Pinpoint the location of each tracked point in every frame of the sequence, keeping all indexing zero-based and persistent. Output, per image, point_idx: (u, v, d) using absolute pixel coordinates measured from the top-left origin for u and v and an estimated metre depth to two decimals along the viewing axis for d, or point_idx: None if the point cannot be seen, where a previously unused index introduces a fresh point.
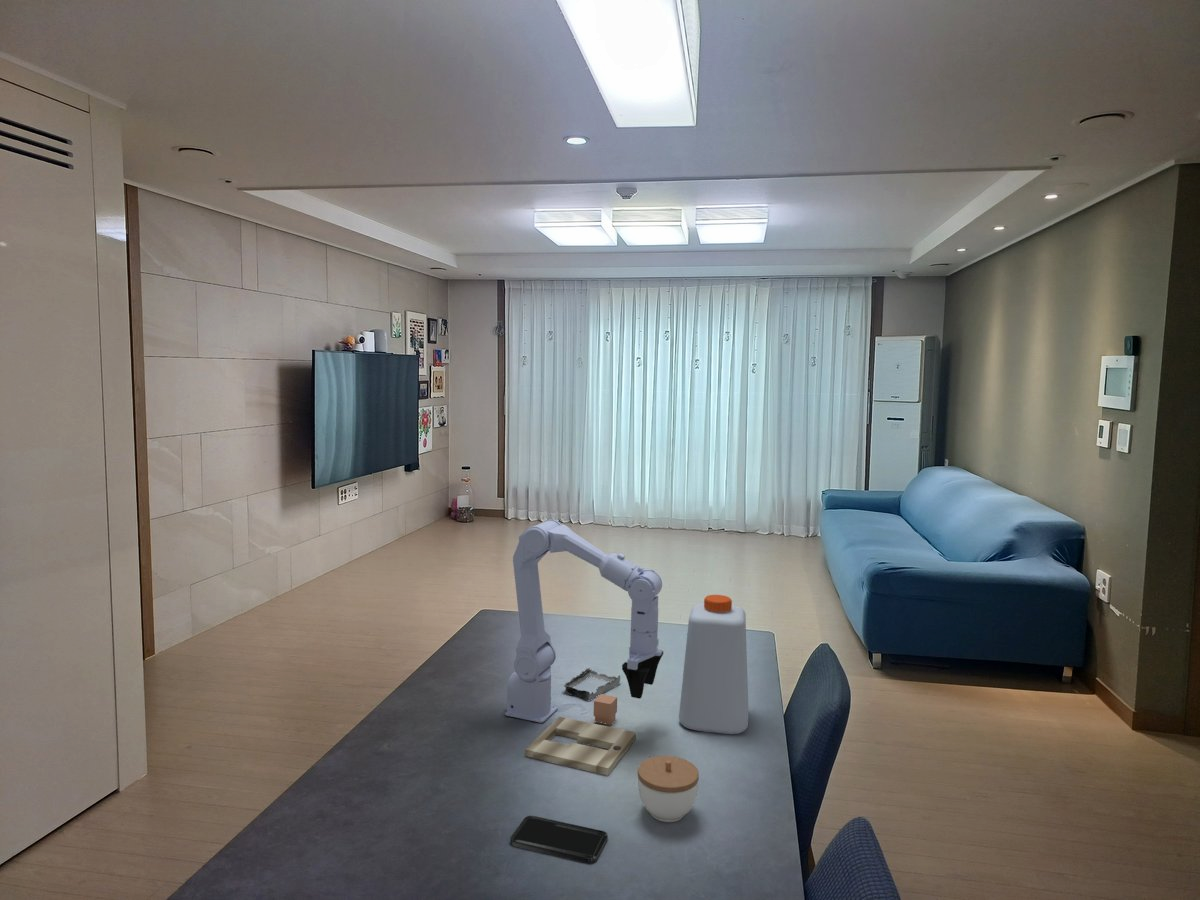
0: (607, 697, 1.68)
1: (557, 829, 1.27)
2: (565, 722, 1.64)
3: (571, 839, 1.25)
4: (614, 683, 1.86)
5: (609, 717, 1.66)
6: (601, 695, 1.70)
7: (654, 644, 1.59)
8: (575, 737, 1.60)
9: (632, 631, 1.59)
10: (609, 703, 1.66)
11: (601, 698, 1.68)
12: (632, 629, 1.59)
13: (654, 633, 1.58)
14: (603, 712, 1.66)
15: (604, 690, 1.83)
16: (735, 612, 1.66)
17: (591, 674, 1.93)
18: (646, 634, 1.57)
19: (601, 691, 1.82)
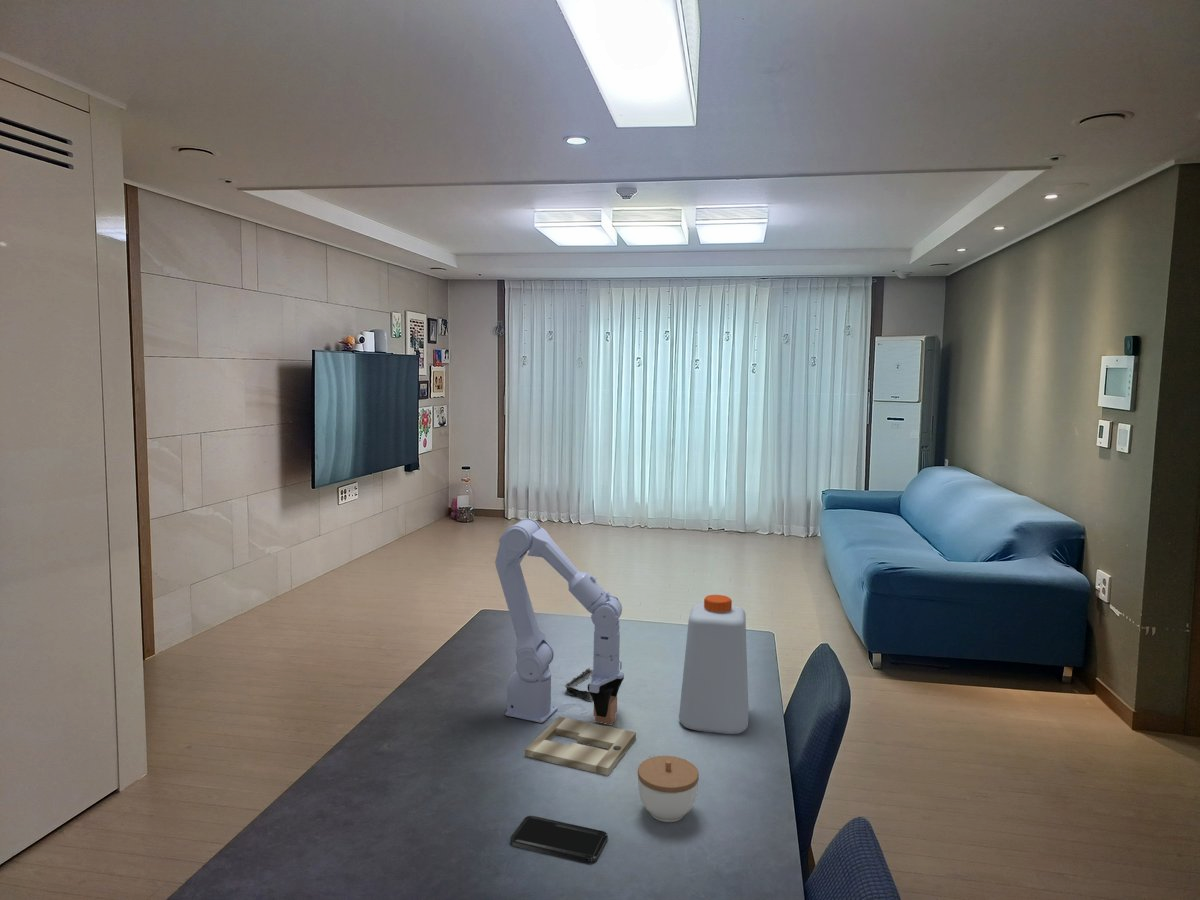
0: None
1: (557, 829, 1.27)
2: (565, 722, 1.64)
3: (571, 839, 1.25)
4: None
5: (609, 717, 1.66)
6: None
7: (616, 668, 1.65)
8: (575, 737, 1.60)
9: (594, 655, 1.65)
10: (609, 703, 1.66)
11: None
12: (594, 653, 1.65)
13: (615, 657, 1.65)
14: None
15: None
16: (735, 612, 1.66)
17: (591, 674, 1.93)
18: (608, 658, 1.64)
19: None
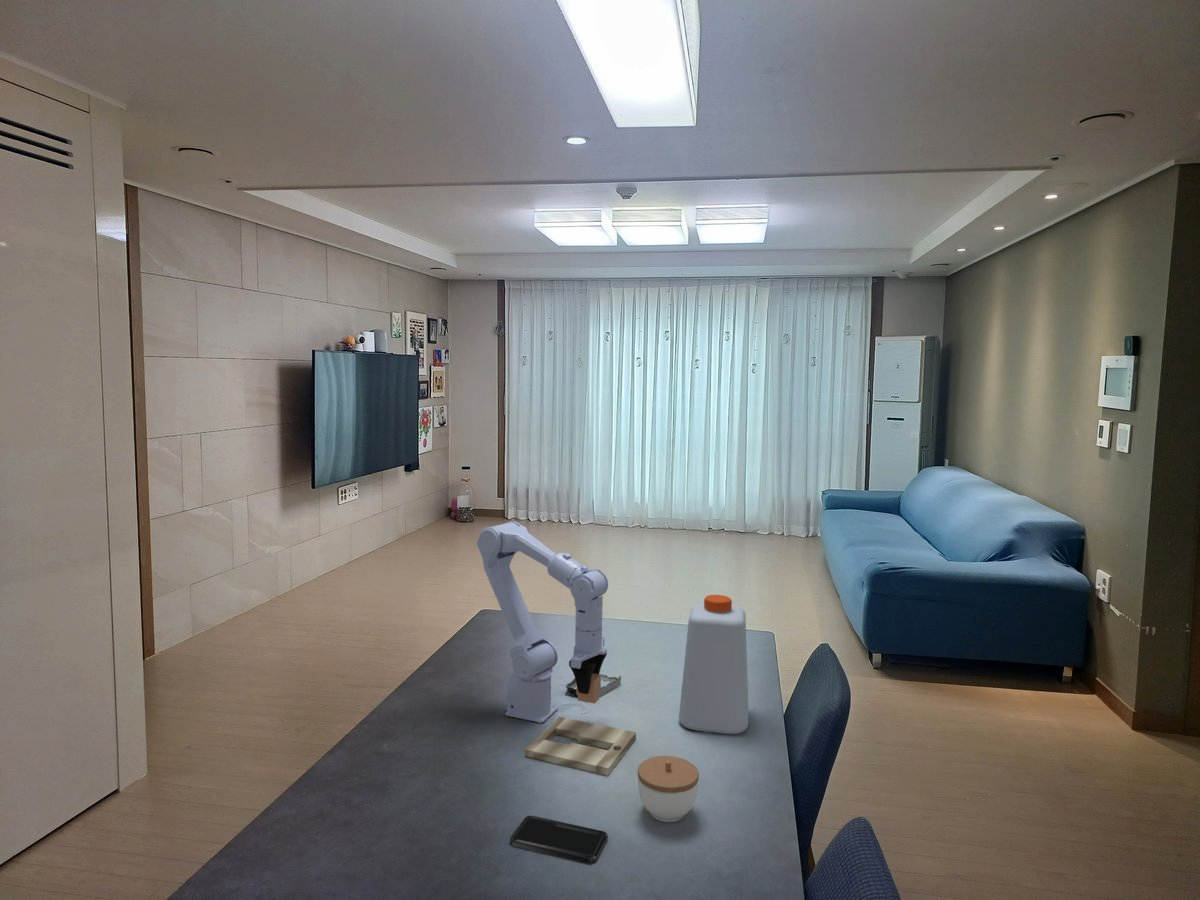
0: None
1: (557, 829, 1.27)
2: (565, 722, 1.64)
3: (571, 839, 1.25)
4: (615, 683, 1.86)
5: (592, 695, 1.60)
6: None
7: (598, 643, 1.60)
8: (575, 737, 1.60)
9: (576, 630, 1.60)
10: (592, 680, 1.60)
11: None
12: (576, 628, 1.60)
13: (598, 632, 1.60)
14: None
15: (605, 691, 1.83)
16: (735, 612, 1.66)
17: None
18: (590, 633, 1.59)
19: (603, 692, 1.82)
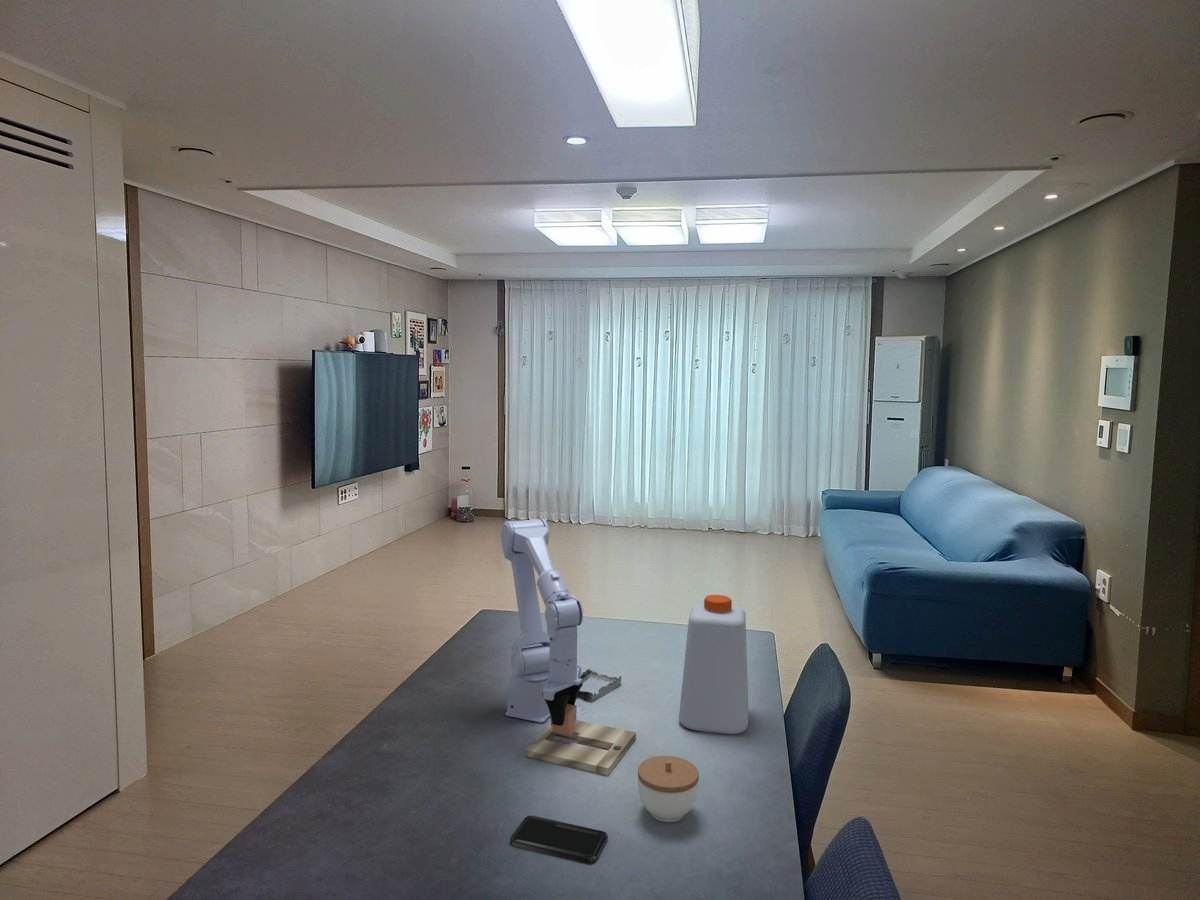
0: (566, 706, 1.58)
1: (557, 829, 1.27)
2: None
3: (571, 839, 1.25)
4: (615, 683, 1.86)
5: (567, 727, 1.55)
6: None
7: (573, 673, 1.55)
8: (575, 737, 1.60)
9: (550, 660, 1.55)
10: (567, 712, 1.55)
11: None
12: (550, 657, 1.55)
13: (572, 662, 1.54)
14: None
15: (606, 691, 1.83)
16: (735, 612, 1.66)
17: (591, 675, 1.93)
18: (564, 663, 1.53)
19: (603, 692, 1.82)
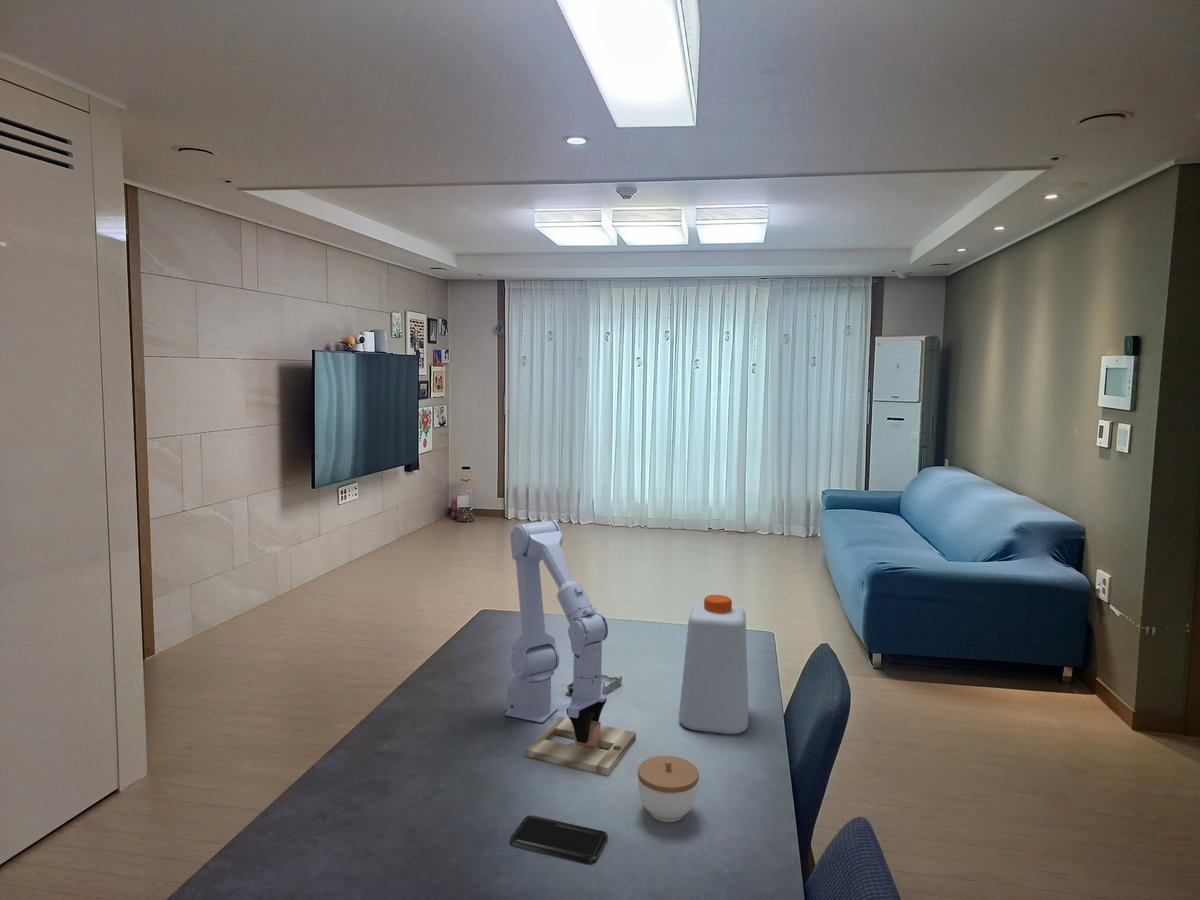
0: None
1: (557, 829, 1.27)
2: (565, 722, 1.64)
3: (571, 839, 1.25)
4: (616, 683, 1.86)
5: (591, 744, 1.53)
6: None
7: (597, 690, 1.53)
8: None
9: (574, 676, 1.53)
10: (591, 729, 1.53)
11: None
12: (574, 674, 1.53)
13: (597, 678, 1.52)
14: None
15: (607, 691, 1.83)
16: (735, 612, 1.66)
17: None
18: (588, 679, 1.52)
19: (604, 692, 1.82)
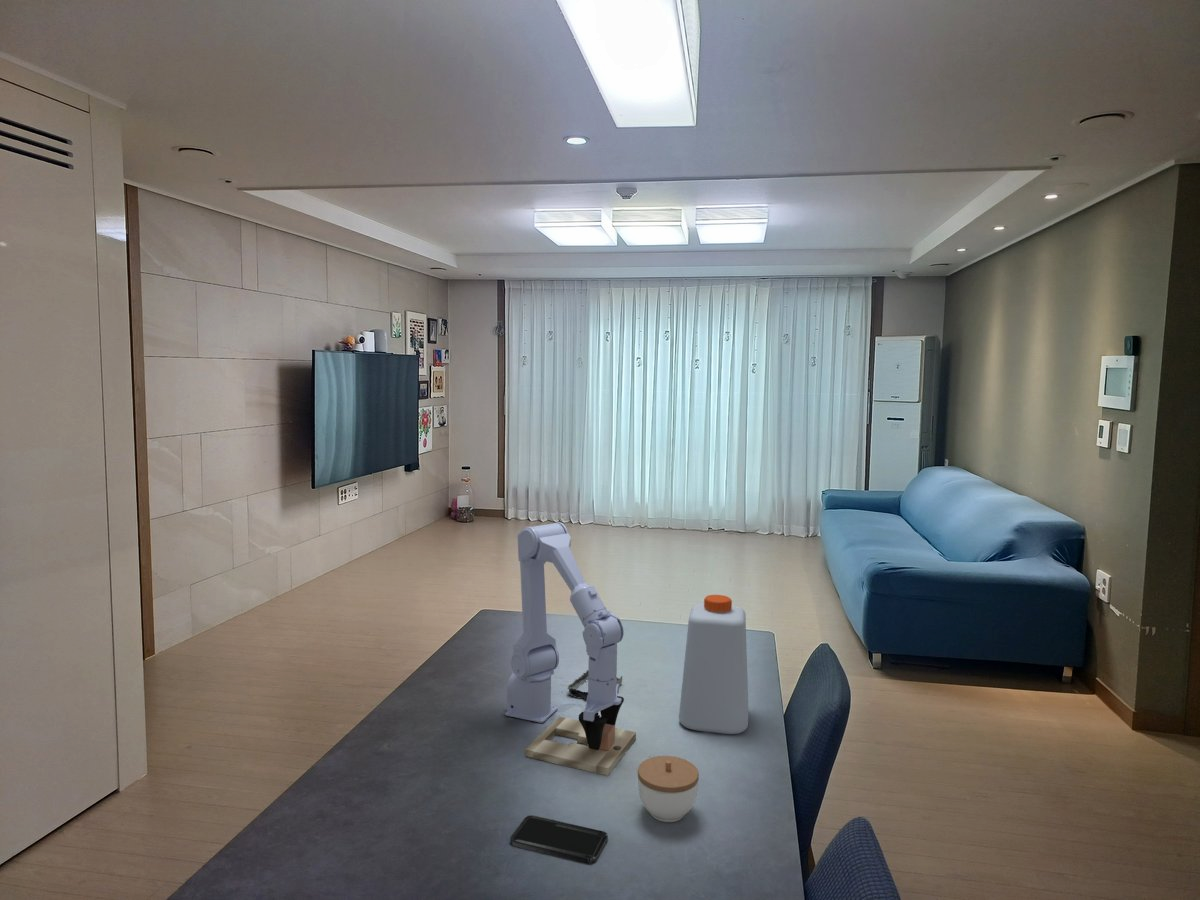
0: (605, 726, 1.55)
1: (557, 829, 1.27)
2: (565, 722, 1.64)
3: (571, 839, 1.25)
4: None
5: (606, 748, 1.52)
6: None
7: (613, 693, 1.52)
8: (575, 737, 1.60)
9: (589, 679, 1.52)
10: (606, 733, 1.52)
11: None
12: (589, 677, 1.52)
13: (612, 681, 1.51)
14: None
15: None
16: (735, 612, 1.66)
17: None
18: (604, 682, 1.50)
19: None
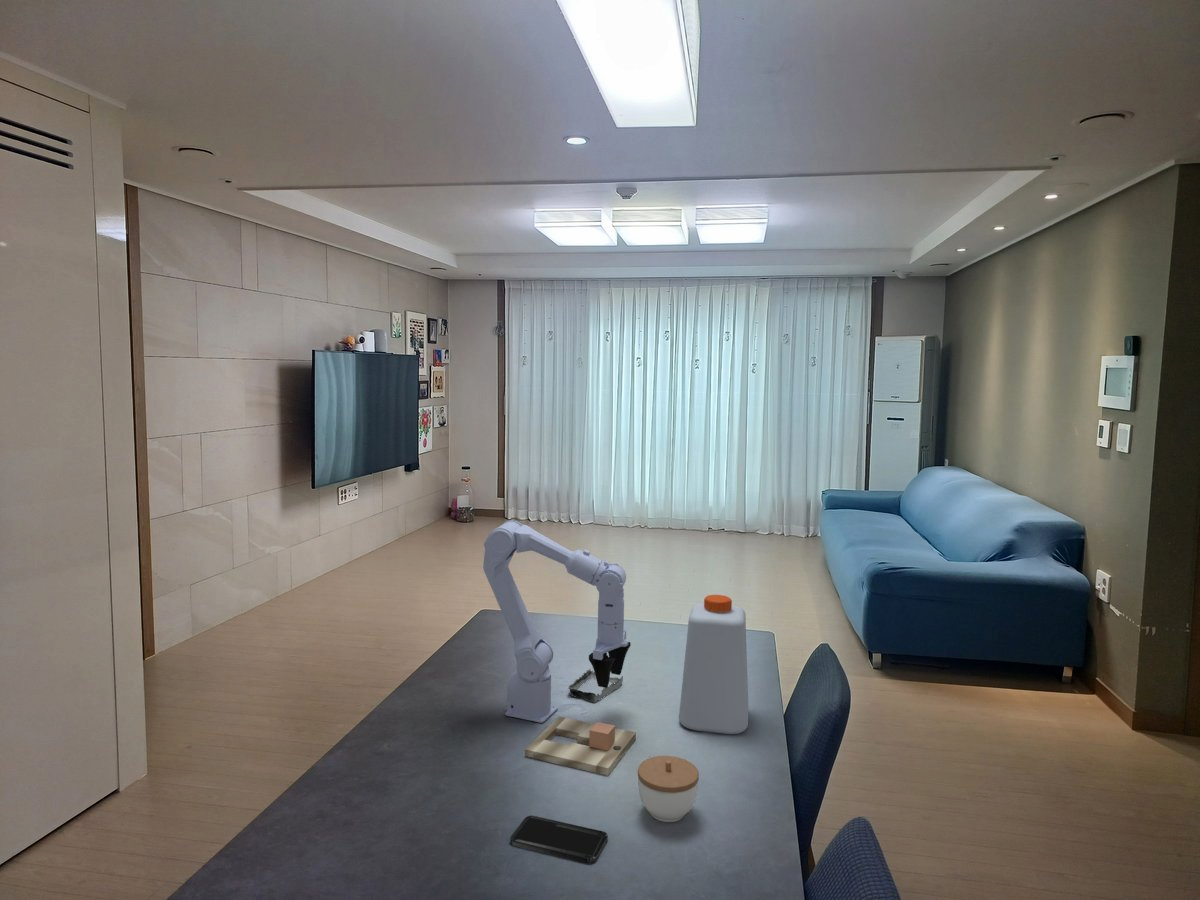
0: (605, 726, 1.55)
1: (557, 829, 1.27)
2: (565, 722, 1.64)
3: (571, 839, 1.25)
4: (617, 684, 1.86)
5: (606, 748, 1.52)
6: (598, 723, 1.56)
7: (620, 636, 1.65)
8: (575, 737, 1.60)
9: (599, 623, 1.65)
10: (606, 733, 1.52)
11: (598, 727, 1.54)
12: (599, 621, 1.65)
13: (620, 625, 1.64)
14: (600, 743, 1.52)
15: (608, 691, 1.83)
16: (735, 612, 1.66)
17: (592, 675, 1.92)
18: (612, 625, 1.63)
19: (606, 693, 1.82)
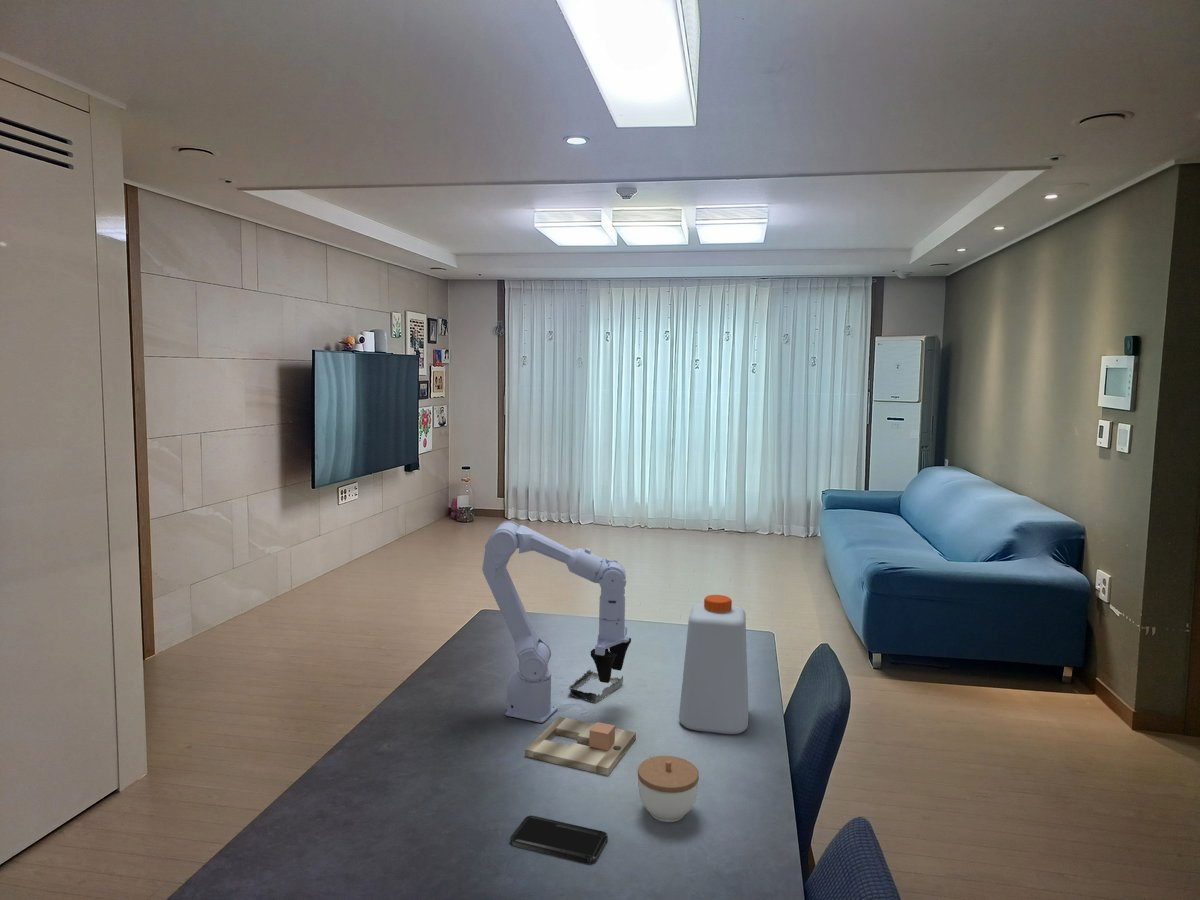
0: (605, 726, 1.55)
1: (557, 829, 1.27)
2: (565, 722, 1.64)
3: (571, 839, 1.25)
4: (617, 684, 1.86)
5: (606, 748, 1.52)
6: (597, 723, 1.56)
7: (621, 632, 1.67)
8: (575, 737, 1.60)
9: (600, 619, 1.68)
10: (606, 733, 1.52)
11: (597, 727, 1.54)
12: (600, 617, 1.68)
13: (621, 621, 1.67)
14: (600, 743, 1.52)
15: (609, 692, 1.83)
16: (735, 612, 1.66)
17: (592, 676, 1.92)
18: (613, 622, 1.66)
19: (606, 693, 1.81)
